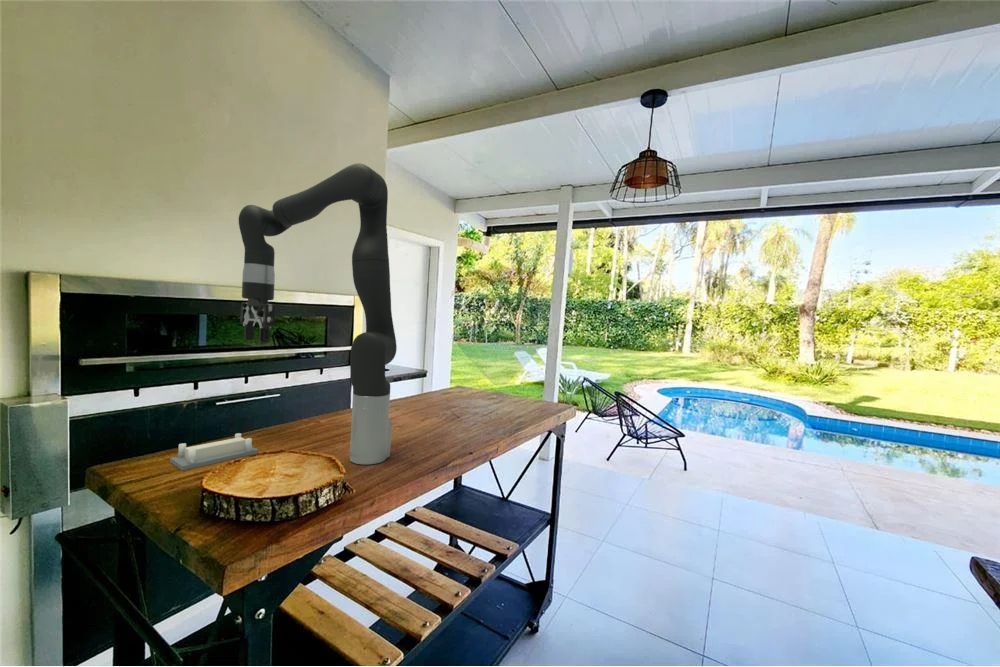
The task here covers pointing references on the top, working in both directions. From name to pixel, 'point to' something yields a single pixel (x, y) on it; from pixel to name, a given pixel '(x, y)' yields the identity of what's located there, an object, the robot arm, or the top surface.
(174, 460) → the grey pegged tray
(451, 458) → the top surface
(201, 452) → the clay strip
